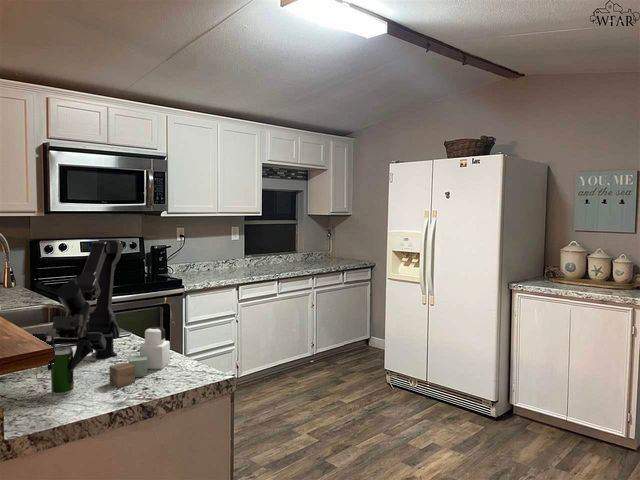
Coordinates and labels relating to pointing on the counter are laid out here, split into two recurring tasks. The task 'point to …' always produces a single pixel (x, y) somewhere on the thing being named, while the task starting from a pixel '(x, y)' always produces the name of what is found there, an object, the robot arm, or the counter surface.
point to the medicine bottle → (156, 348)
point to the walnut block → (122, 374)
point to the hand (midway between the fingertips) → (59, 369)
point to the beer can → (62, 371)
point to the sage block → (139, 365)
